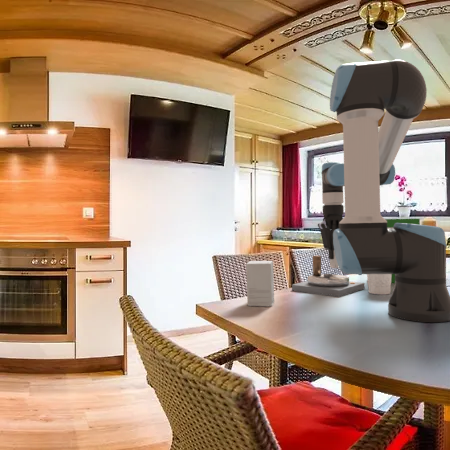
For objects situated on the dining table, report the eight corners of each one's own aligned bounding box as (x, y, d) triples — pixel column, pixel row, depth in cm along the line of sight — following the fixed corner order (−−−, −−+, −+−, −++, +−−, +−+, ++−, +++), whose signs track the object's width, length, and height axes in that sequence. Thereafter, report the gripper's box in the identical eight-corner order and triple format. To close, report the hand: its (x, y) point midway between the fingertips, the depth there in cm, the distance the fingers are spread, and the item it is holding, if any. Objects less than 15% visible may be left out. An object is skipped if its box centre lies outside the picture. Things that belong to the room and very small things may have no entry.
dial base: (339, 296, 124) (338, 289, 124) (292, 290, 136) (291, 283, 136) (364, 288, 136) (364, 282, 136) (319, 283, 149) (319, 277, 149)
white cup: (388, 290, 132) (387, 261, 132) (395, 295, 124) (395, 263, 124) (364, 290, 133) (363, 261, 133) (370, 295, 125) (369, 264, 125)
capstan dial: (360, 284, 132) (359, 257, 132) (327, 288, 126) (326, 260, 126) (329, 278, 146) (329, 254, 146) (299, 281, 140) (298, 256, 140)
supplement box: (274, 301, 119) (274, 260, 119) (271, 307, 112) (270, 263, 112) (251, 300, 121) (250, 260, 121) (246, 306, 114) (245, 263, 114)
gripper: (339, 204, 151) (340, 265, 151) (312, 205, 145) (313, 268, 146) (353, 203, 144) (354, 267, 145) (325, 204, 139) (327, 270, 139)
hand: (334, 267), depth 145 cm, fingers closed
